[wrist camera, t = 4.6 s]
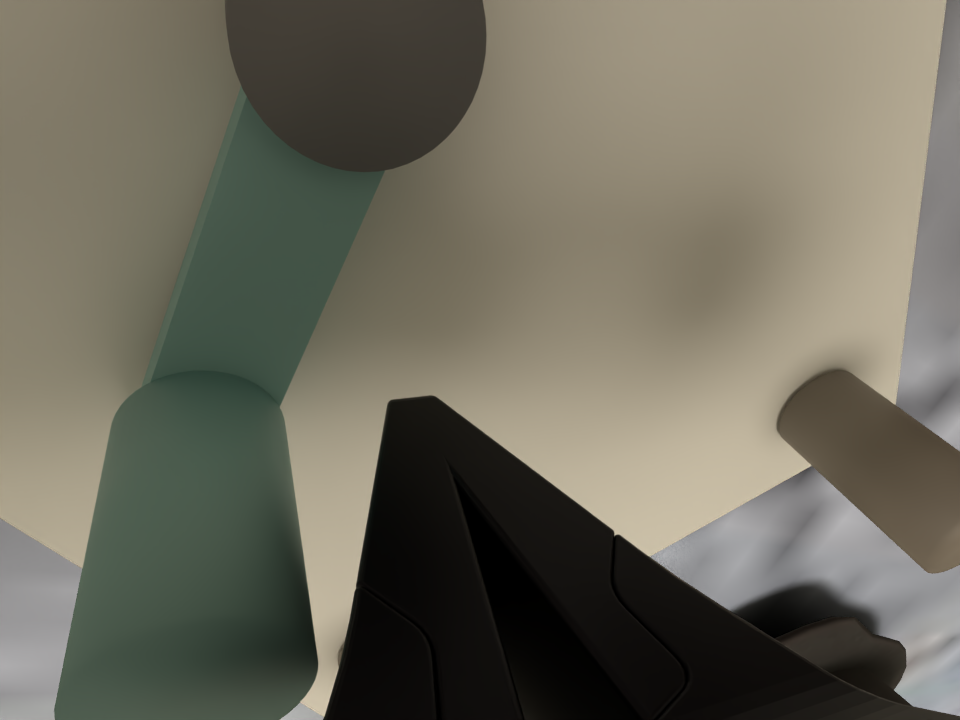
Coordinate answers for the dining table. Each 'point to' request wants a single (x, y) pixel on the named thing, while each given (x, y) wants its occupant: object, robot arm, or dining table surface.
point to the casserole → (851, 654)
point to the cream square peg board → (508, 264)
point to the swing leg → (251, 363)
